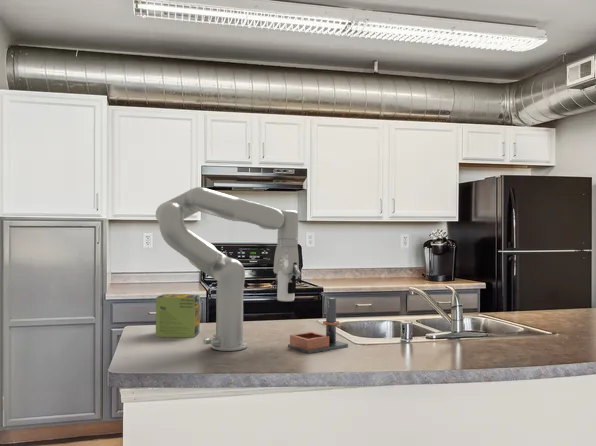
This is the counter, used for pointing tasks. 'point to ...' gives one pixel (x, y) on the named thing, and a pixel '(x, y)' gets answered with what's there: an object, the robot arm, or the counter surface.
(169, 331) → the protein box
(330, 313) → the grey and orange stand
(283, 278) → the can
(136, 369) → the counter surface
